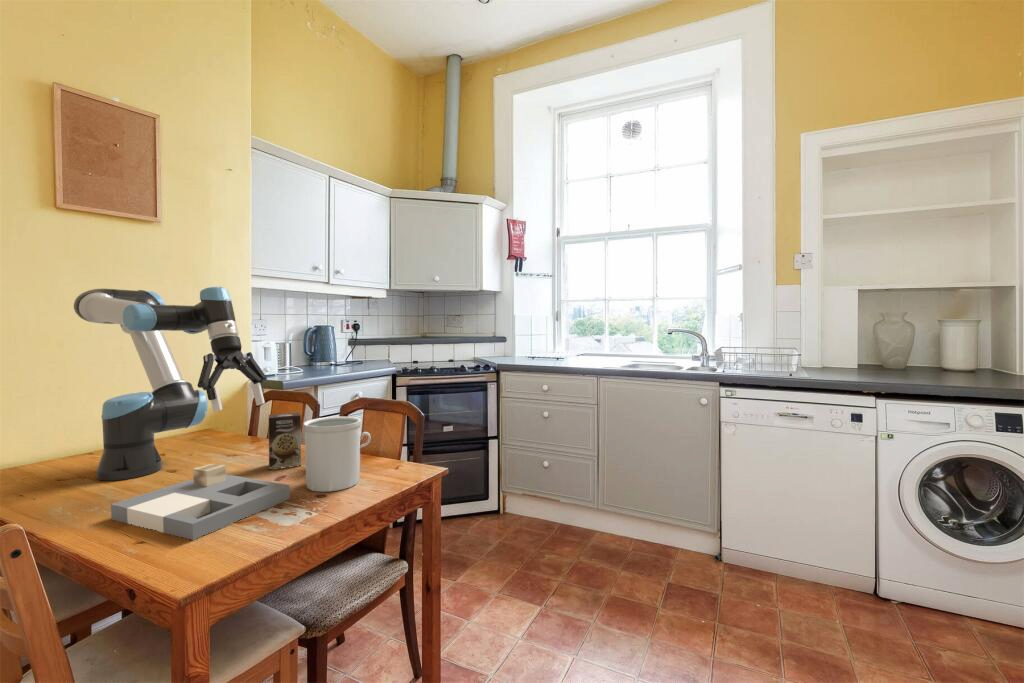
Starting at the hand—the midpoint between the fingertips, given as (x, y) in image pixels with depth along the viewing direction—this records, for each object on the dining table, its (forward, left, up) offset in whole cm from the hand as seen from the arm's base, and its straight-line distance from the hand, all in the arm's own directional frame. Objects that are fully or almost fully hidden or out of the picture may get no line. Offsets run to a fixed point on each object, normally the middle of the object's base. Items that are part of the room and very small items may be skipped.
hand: (240, 407), depth 133 cm
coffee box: (+4, +12, -20) cm, 24 cm away
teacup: (+21, +20, -20) cm, 35 cm away
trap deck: (+14, -20, -20) cm, 32 cm away
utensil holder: (+30, +5, -20) cm, 37 cm away
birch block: (+7, -14, -17) cm, 23 cm away
